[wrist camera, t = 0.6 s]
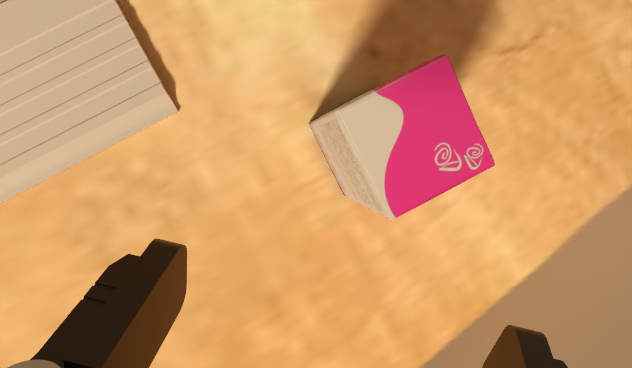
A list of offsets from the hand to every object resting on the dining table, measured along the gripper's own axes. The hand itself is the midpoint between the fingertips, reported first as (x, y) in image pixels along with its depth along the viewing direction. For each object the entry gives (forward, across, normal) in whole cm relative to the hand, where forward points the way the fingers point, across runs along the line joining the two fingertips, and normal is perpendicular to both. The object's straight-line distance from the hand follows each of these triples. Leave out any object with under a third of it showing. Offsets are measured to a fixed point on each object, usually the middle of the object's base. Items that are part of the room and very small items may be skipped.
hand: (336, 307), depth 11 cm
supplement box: (+20, 0, +6) cm, 21 cm away
